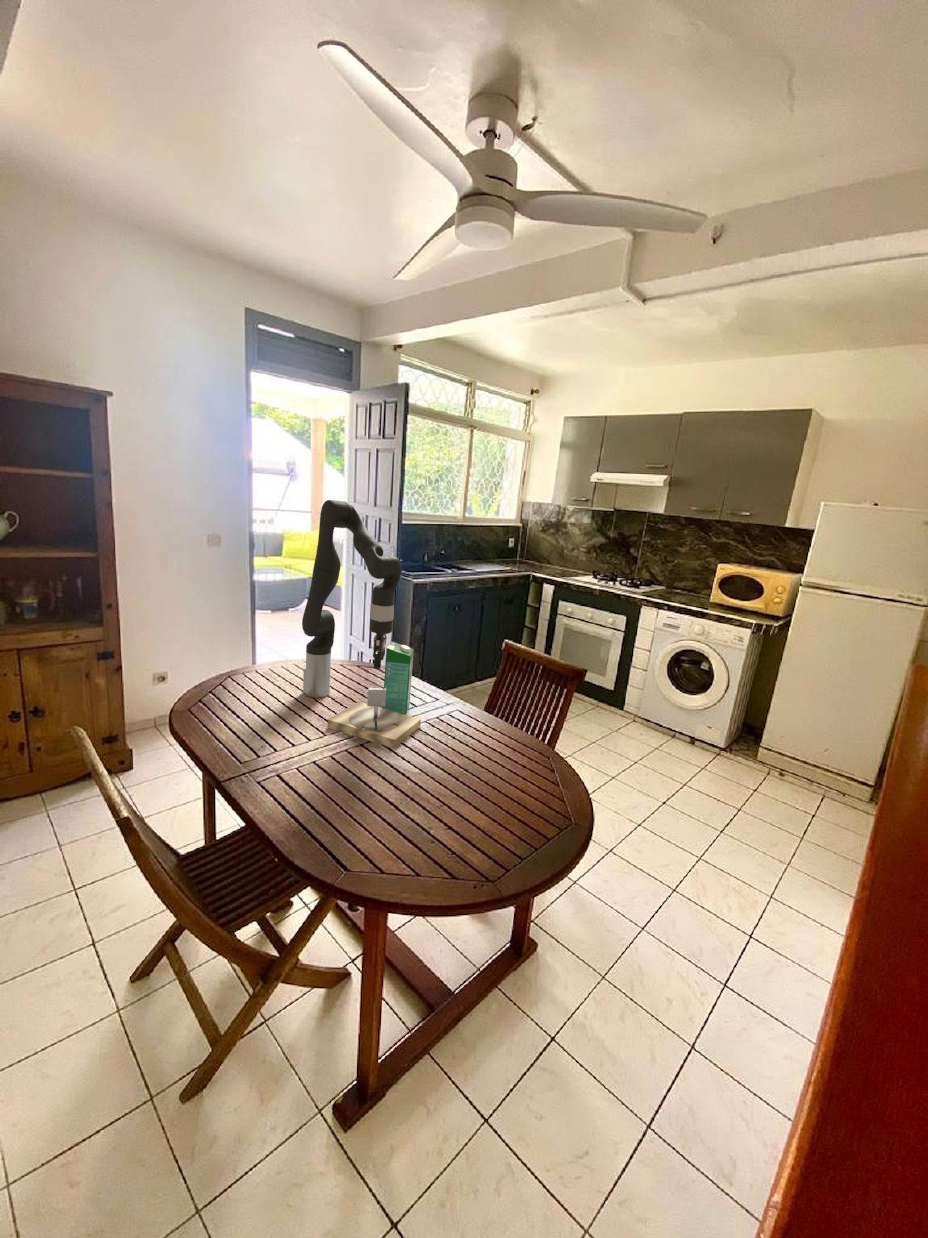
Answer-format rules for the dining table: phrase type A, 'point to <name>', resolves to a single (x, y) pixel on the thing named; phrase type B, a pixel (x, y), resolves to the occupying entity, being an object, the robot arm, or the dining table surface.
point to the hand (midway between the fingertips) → (378, 664)
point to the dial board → (362, 724)
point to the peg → (376, 700)
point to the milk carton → (398, 677)
